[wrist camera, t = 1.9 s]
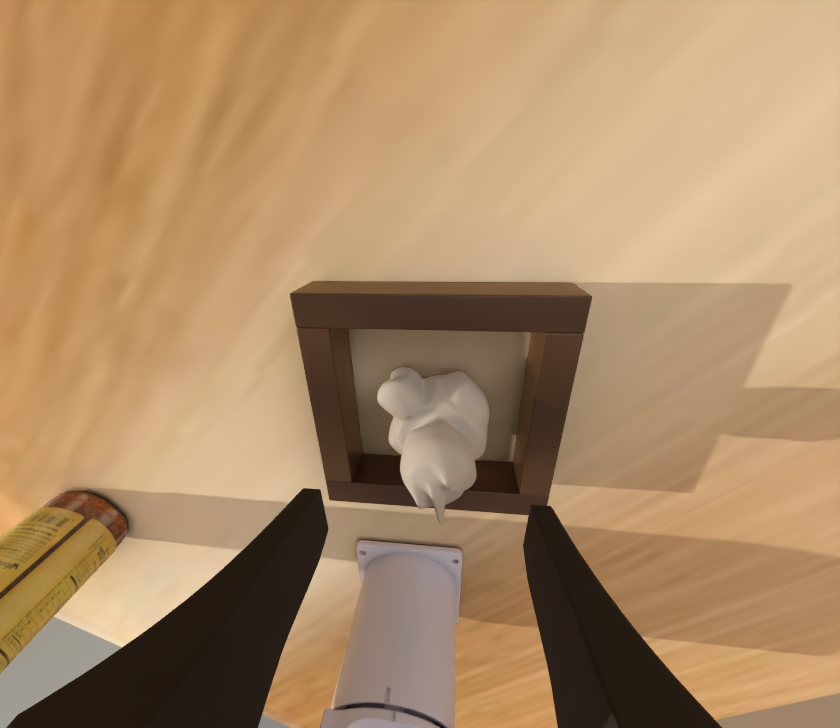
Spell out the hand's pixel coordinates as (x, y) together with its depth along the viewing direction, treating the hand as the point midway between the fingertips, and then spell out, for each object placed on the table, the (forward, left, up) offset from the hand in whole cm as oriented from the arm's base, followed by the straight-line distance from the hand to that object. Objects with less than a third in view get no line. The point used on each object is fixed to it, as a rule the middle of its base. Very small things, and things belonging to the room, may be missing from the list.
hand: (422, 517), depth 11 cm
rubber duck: (0, 0, -8) cm, 9 cm away
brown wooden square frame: (0, 0, -8) cm, 8 cm away
